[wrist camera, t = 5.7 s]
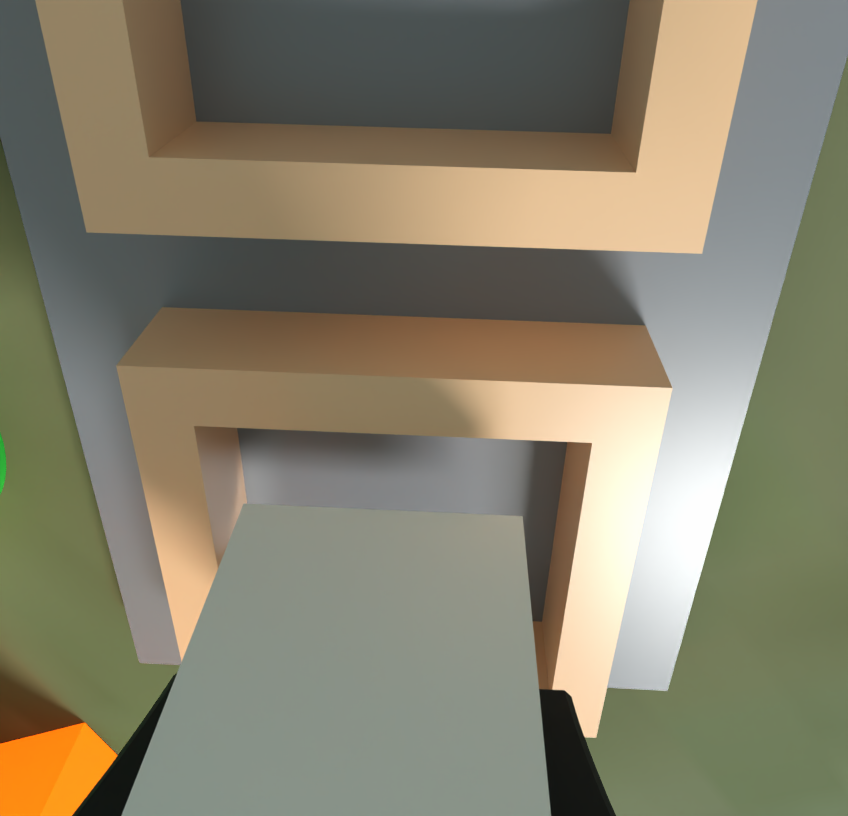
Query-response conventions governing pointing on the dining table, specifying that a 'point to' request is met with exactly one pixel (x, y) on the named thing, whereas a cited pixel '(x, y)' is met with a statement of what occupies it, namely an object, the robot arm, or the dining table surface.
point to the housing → (419, 277)
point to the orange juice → (51, 771)
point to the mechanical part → (2, 464)
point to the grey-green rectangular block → (356, 673)
